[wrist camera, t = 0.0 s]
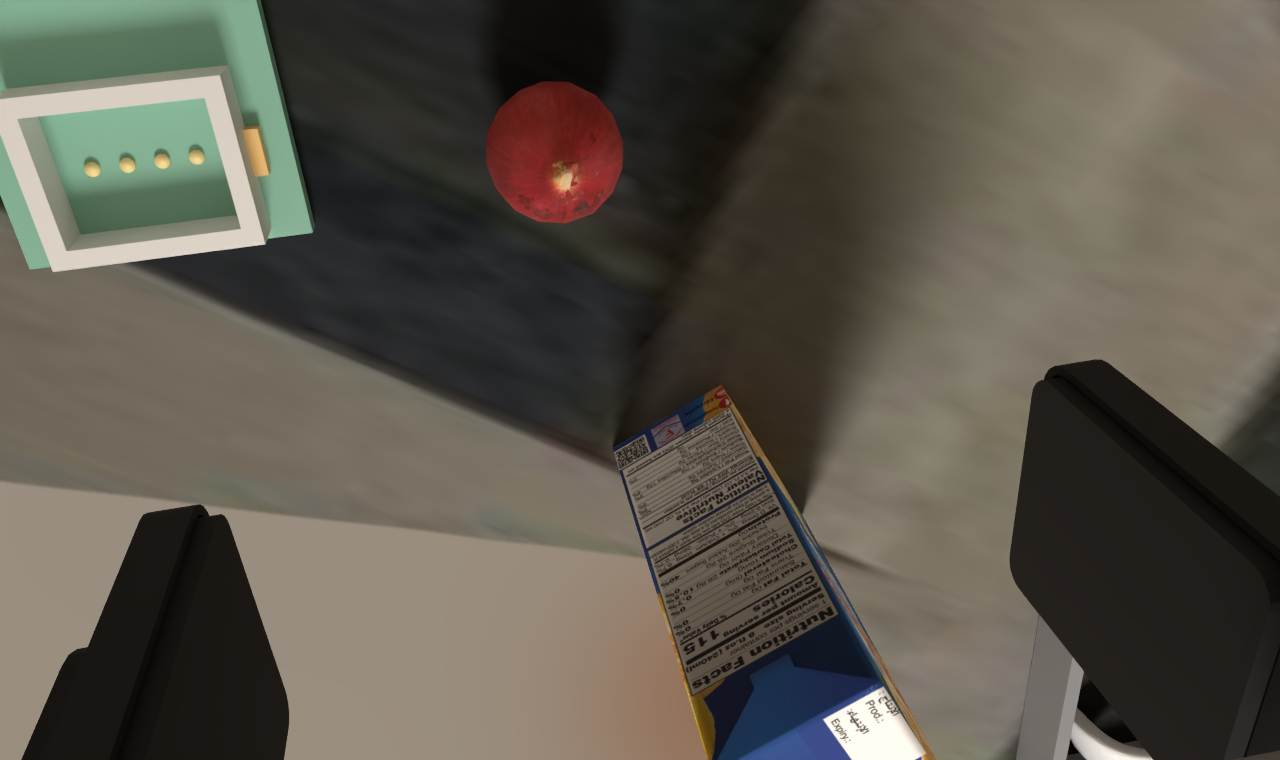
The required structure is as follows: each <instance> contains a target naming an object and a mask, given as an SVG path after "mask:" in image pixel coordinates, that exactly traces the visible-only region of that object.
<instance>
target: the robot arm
mask: <svg viewBox="0 0 1280 760" xmlns="http://www.w3.org/2000/svg"><path fill="white" fill-rule="evenodd" d="M1010 568H1011V572H1012V576H1013V578H1014V581H1015V583H1016V585H1017V586H1018V588H1019V589H1020V590H1021V592H1022V593H1023V594H1024V596H1025V597H1026V598H1027V599H1028V601H1029V602H1030V603H1031V604H1032V606H1033V607H1034V608H1035V610H1036V611H1037V612H1038V613H1039V615H1040V616H1041V617H1042V619H1043V620H1044V621H1045V622H1046V624H1047V625H1048V626H1049V627H1050V629H1051V630H1052V631H1053V633H1054V634H1055V635H1056V636H1057V638H1058V639H1059V640H1060V641H1061V643H1062V644H1063V645H1064V647H1065V648H1066V649H1067V650H1068V652H1069V653H1070V654H1071V656H1072V657H1073V658H1074V659H1075V661H1076V662H1077V663H1078V664H1079V666H1080V667H1081V668H1082V670H1083V671H1084V672H1085V673H1086V675H1087V676H1088V677H1089V678H1090V680H1091V681H1092V682H1093V684H1094V685H1095V686H1096V687H1097V689H1098V690H1099V691H1100V692H1101V694H1102V695H1103V696H1104V698H1105V699H1106V700H1107V701H1108V703H1109V704H1110V705H1111V707H1112V708H1113V709H1114V710H1115V712H1116V713H1117V714H1118V715H1119V717H1120V718H1121V719H1122V721H1123V722H1124V723H1125V724H1126V726H1127V727H1128V728H1129V729H1130V731H1131V732H1132V733H1133V735H1134V736H1135V737H1136V738H1137V740H1138V741H1139V742H1140V744H1141V745H1142V746H1143V747H1144V749H1145V750H1146V751H1147V752H1148V754H1149V755H1150V756H1151V758H1152V759H1153V760H1280V497H1279V496H1278V495H1277V494H1275V493H1274V492H1273V491H1271V490H1270V489H1269V488H1268V487H1266V486H1265V485H1264V484H1262V483H1261V482H1260V481H1259V480H1257V479H1256V478H1255V477H1254V476H1252V475H1251V474H1250V473H1248V472H1247V471H1246V470H1245V469H1243V468H1242V467H1241V466H1239V465H1238V464H1237V463H1236V462H1234V461H1233V460H1232V459H1230V458H1229V457H1228V456H1227V455H1225V454H1224V453H1223V452H1221V451H1220V450H1219V449H1218V448H1216V447H1215V446H1214V445H1213V444H1211V443H1210V442H1209V441H1207V440H1206V439H1205V438H1204V437H1202V436H1201V435H1200V434H1198V433H1197V432H1196V431H1195V430H1193V429H1192V428H1191V427H1189V426H1188V425H1187V424H1186V423H1184V422H1183V421H1182V420H1180V419H1179V418H1178V417H1177V416H1175V415H1174V414H1173V413H1172V412H1170V411H1169V410H1168V409H1166V408H1165V407H1164V406H1163V405H1161V404H1160V403H1159V402H1157V401H1156V400H1155V399H1154V398H1152V397H1151V396H1150V395H1148V394H1147V393H1146V392H1145V391H1143V390H1142V389H1141V388H1139V387H1138V386H1137V385H1136V384H1134V383H1133V382H1132V381H1130V380H1129V379H1128V378H1127V377H1125V376H1124V375H1123V374H1122V373H1120V372H1119V371H1118V370H1116V369H1115V368H1114V367H1113V366H1111V365H1110V364H1109V363H1107V362H1105V361H1103V360H1090V361H1083V362H1077V363H1071V364H1065V365H1059V366H1054V367H1052V368H1050V369H1049V370H1048V372H1047V373H1046V375H1045V378H1044V380H1041V381H1039V382H1037V383H1036V385H1035V386H1034V388H1033V392H1032V398H1031V405H1030V413H1029V420H1028V427H1027V434H1026V442H1025V449H1024V456H1023V463H1022V471H1021V478H1020V485H1019V492H1018V500H1017V507H1016V514H1015V521H1014V529H1013V536H1012V543H1011V550H1010ZM288 727H289V708H288V700H287V695H286V691H285V688H284V685H283V682H282V679H281V676H280V673H279V671H278V668H277V665H276V662H275V659H274V656H273V653H272V650H271V647H270V644H269V641H268V638H267V635H266V632H265V629H264V626H263V623H262V620H261V617H260V614H259V611H258V608H257V605H256V602H255V599H254V596H253V594H252V590H251V588H250V585H249V582H248V579H247V576H246V573H245V570H244V567H243V564H242V561H241V558H240V555H239V552H238V549H237V546H236V543H235V540H234V537H233V534H232V531H231V528H230V526H229V523H228V521H227V519H226V518H225V516H224V515H222V514H220V515H214V516H209V514H208V512H207V511H206V509H205V508H204V506H202V505H200V504H199V505H193V506H187V507H180V508H175V509H168V510H162V511H155V512H150V513H146V514H144V515H143V516H142V518H141V519H140V521H139V523H138V526H137V529H136V531H135V533H134V536H133V538H132V540H131V543H130V546H129V548H128V550H127V553H126V555H125V558H124V560H123V563H122V565H121V568H120V570H119V573H118V575H117V577H116V580H115V582H114V585H113V587H112V589H111V592H110V594H109V597H108V599H107V602H106V604H105V606H104V609H103V611H102V614H101V616H100V619H99V621H98V624H97V626H96V628H95V631H94V634H93V636H92V638H91V641H90V643H89V646H88V647H86V648H81V649H77V650H75V651H74V652H72V653H71V654H69V655H68V657H67V659H66V660H65V662H64V663H63V665H62V667H61V669H60V671H59V674H58V676H57V678H56V681H55V683H54V685H53V688H52V690H51V692H50V695H49V697H48V699H47V702H46V704H45V706H44V709H43V711H42V713H41V716H40V718H39V720H38V723H37V725H36V727H35V729H34V732H33V734H32V736H31V739H30V741H29V744H28V746H27V748H26V750H25V753H24V755H23V757H22V760H284V754H285V748H286V741H287V735H288Z"/></svg>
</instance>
